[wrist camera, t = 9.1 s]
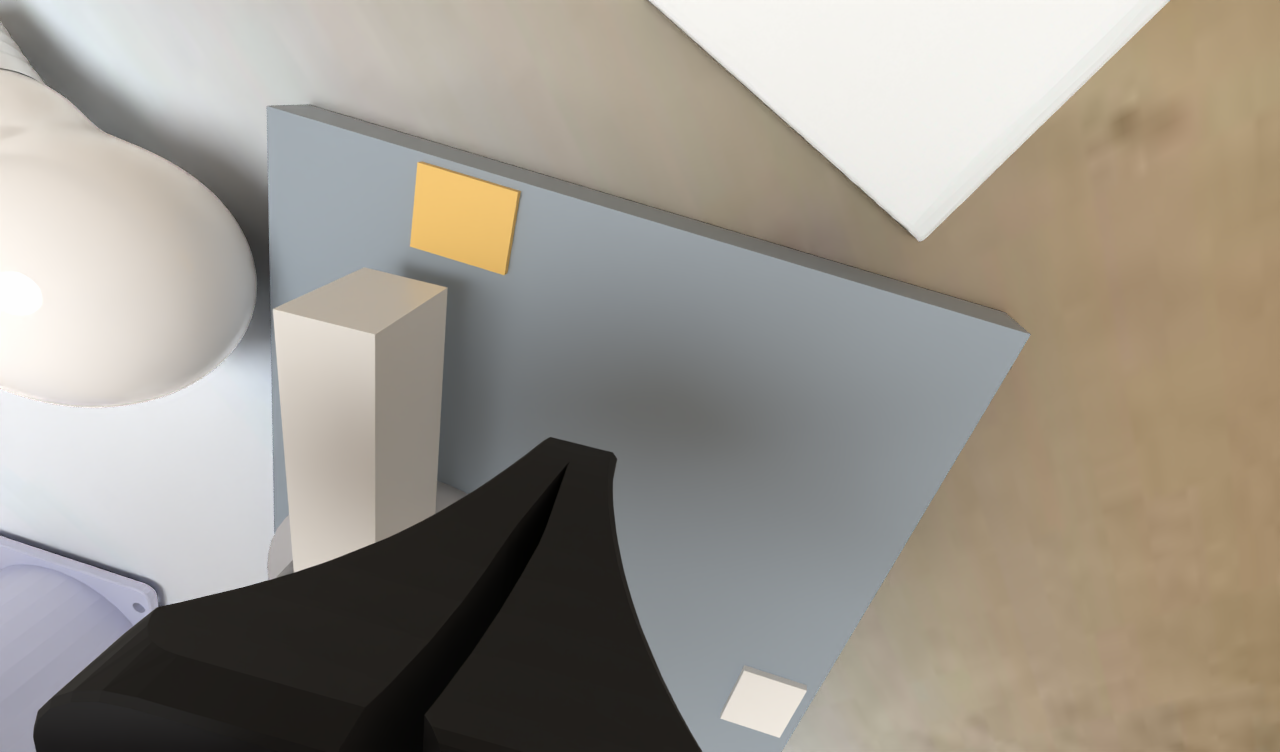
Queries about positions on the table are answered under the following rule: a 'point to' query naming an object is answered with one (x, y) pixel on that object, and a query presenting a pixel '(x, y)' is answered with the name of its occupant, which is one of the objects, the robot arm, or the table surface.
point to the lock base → (659, 393)
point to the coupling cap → (359, 410)
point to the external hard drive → (913, 80)
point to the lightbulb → (106, 258)
